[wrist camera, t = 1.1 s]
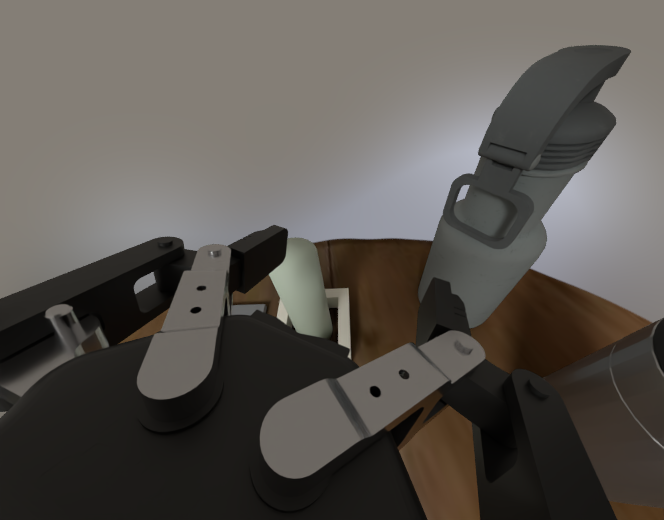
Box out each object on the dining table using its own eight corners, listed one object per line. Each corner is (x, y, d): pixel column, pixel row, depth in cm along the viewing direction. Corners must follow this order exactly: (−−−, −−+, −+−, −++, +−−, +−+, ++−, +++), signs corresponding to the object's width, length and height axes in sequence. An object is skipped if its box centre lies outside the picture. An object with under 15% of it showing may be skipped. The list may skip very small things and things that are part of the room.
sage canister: (332, 313, 36) (318, 236, 24) (332, 347, 32) (315, 276, 20) (300, 314, 36) (269, 239, 24) (296, 347, 33) (259, 278, 21)
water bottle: (459, 348, 31) (669, 92, 10) (401, 299, 36) (456, 68, 15) (502, 303, 34) (722, 44, 13) (443, 264, 40) (534, 38, 19)
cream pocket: (349, 298, 37) (348, 288, 35) (351, 365, 31) (350, 357, 28) (286, 301, 38) (281, 290, 36) (275, 366, 31) (269, 359, 29)
